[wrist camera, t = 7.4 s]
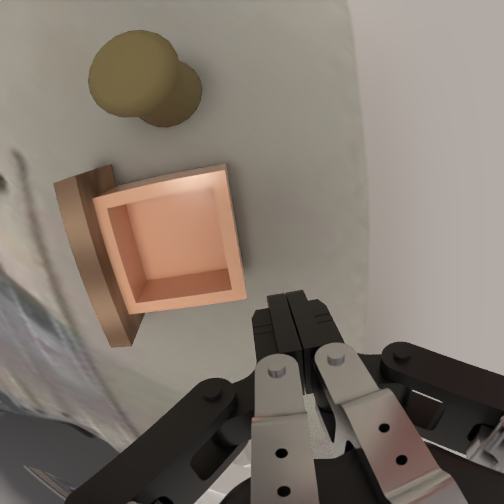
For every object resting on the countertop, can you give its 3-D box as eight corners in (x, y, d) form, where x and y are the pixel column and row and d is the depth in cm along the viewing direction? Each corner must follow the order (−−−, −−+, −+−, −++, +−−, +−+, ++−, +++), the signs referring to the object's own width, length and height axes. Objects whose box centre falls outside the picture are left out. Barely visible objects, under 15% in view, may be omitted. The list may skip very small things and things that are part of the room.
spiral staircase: (221, 461, 48) (182, 389, 38) (308, 483, 42) (310, 418, 31) (180, 532, 33) (109, 490, 23) (275, 565, 27) (254, 556, 16)
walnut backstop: (92, 169, 24) (53, 183, 17) (111, 164, 24) (75, 176, 17) (131, 304, 29) (111, 347, 23) (149, 302, 29) (131, 346, 23)
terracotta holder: (115, 186, 24) (92, 198, 20) (225, 163, 24) (224, 170, 20) (142, 286, 28) (129, 314, 23) (244, 271, 28) (246, 298, 24)
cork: (217, 95, 22) (207, 65, 12) (161, 141, 24) (115, 148, 13) (172, 47, 20) (136, -3, 10) (119, 94, 21) (54, 76, 11)
